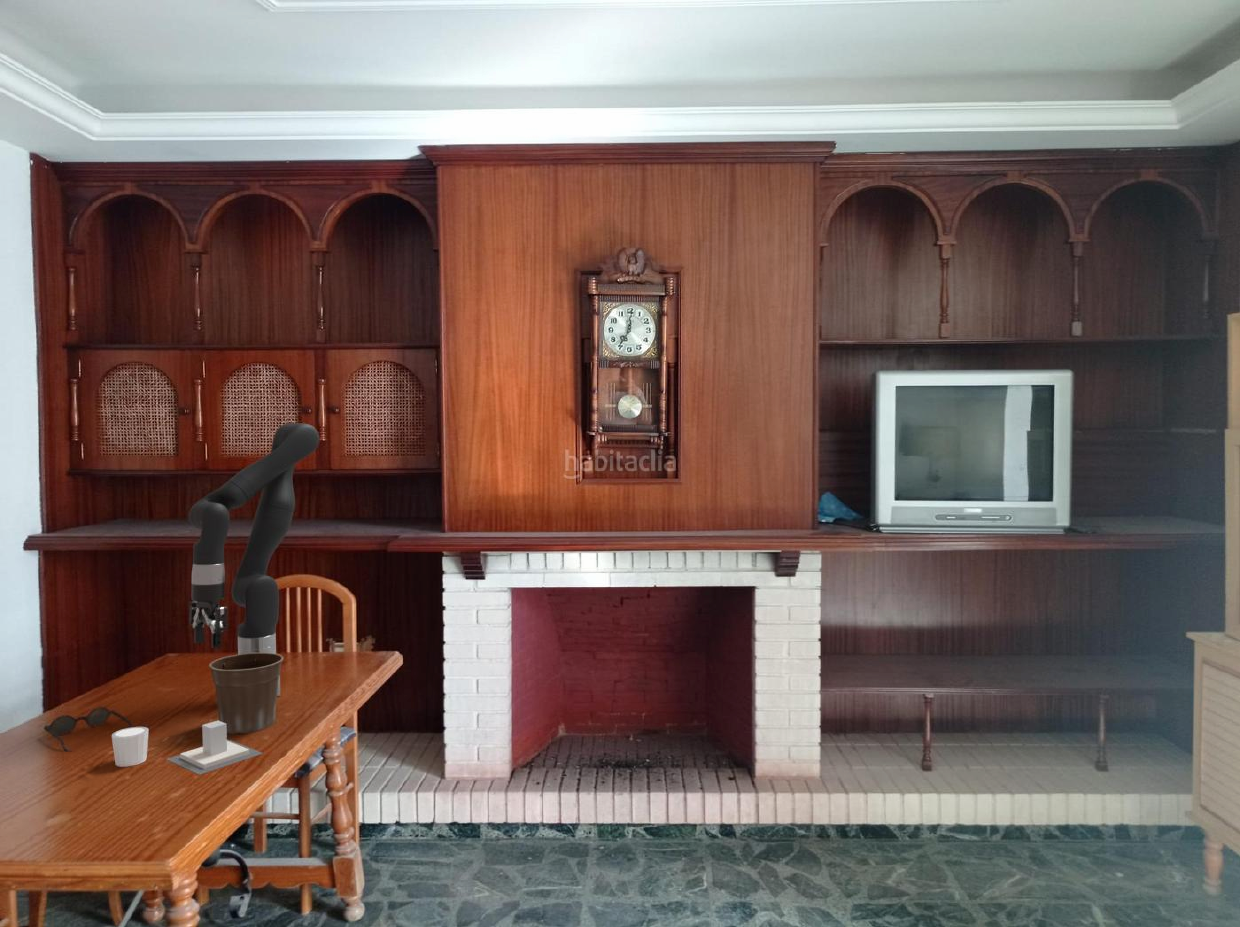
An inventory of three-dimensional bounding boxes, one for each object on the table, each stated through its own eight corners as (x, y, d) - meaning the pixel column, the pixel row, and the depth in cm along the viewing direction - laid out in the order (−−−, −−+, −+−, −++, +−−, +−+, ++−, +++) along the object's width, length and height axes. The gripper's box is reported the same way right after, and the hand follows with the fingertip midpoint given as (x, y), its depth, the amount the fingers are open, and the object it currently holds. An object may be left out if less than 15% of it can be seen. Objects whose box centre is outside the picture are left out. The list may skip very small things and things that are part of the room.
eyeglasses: (113, 722, 206) (113, 702, 205) (138, 736, 196) (137, 715, 196) (44, 739, 194) (43, 718, 194) (66, 755, 185) (66, 733, 185)
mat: (229, 741, 191) (229, 739, 191) (263, 755, 183) (263, 753, 183) (166, 761, 180) (166, 758, 180) (199, 777, 172) (199, 774, 172)
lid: (225, 743, 188) (224, 713, 188) (249, 753, 182) (248, 722, 182) (180, 758, 180) (179, 726, 180) (204, 769, 174) (203, 736, 174)
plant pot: (253, 711, 212) (251, 648, 211) (299, 720, 205) (297, 656, 204) (195, 732, 197) (193, 665, 197) (243, 743, 190) (241, 673, 190)
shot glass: (132, 771, 175) (131, 738, 175) (104, 769, 176) (103, 736, 176) (157, 758, 182) (156, 727, 181) (129, 756, 183) (128, 725, 183)
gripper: (237, 582, 209) (237, 646, 210) (208, 576, 218) (207, 638, 218) (208, 585, 203) (207, 652, 204) (179, 579, 212) (178, 643, 212)
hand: (207, 645), depth 211 cm, fingers open, 8 cm apart
